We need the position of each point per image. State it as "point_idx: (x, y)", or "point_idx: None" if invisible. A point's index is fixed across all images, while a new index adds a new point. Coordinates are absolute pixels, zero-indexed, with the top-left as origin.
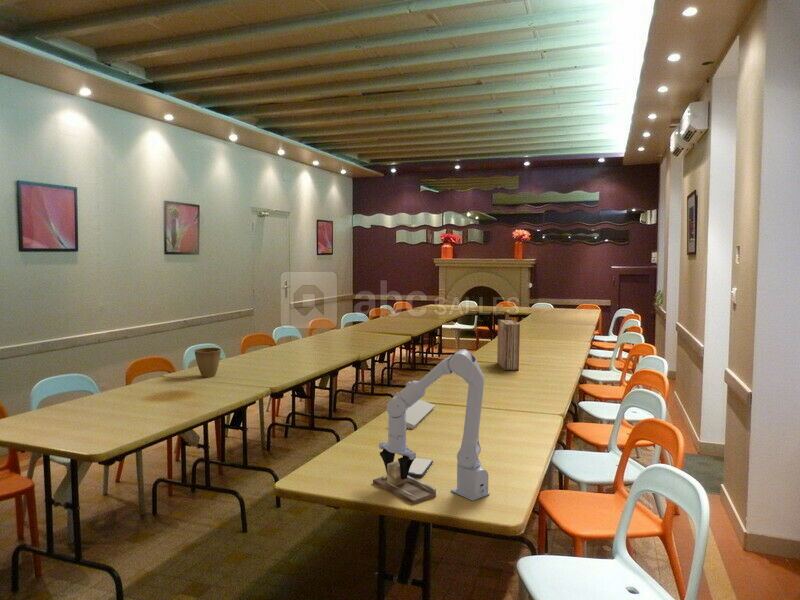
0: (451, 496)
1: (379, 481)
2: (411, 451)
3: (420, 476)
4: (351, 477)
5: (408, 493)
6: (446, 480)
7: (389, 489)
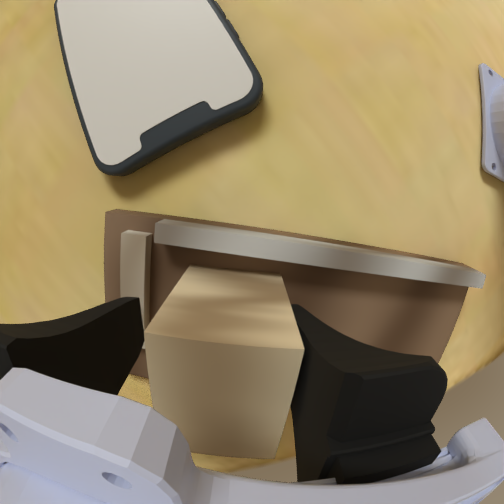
0: (497, 215)
1: None
2: (458, 493)
3: (258, 100)
4: None
5: None
6: (392, 50)
7: None
